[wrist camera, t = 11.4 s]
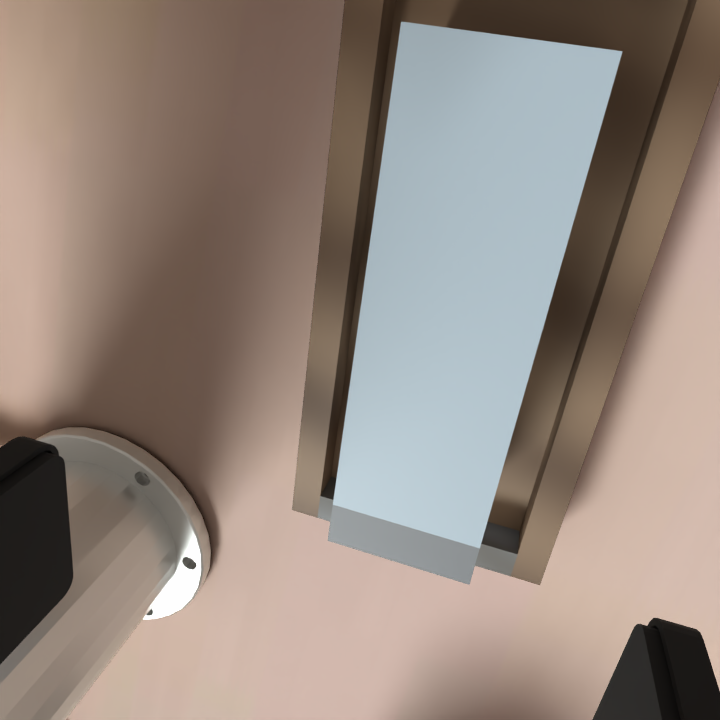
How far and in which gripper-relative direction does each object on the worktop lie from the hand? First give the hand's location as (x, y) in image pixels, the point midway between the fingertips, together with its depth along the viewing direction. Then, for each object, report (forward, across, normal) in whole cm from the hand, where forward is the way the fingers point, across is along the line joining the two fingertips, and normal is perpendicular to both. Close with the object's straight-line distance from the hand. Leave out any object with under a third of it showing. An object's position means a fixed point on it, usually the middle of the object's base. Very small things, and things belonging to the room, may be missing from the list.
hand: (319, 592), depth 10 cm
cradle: (+16, -1, -1) cm, 17 cm away
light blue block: (+15, -1, -1) cm, 15 cm away
